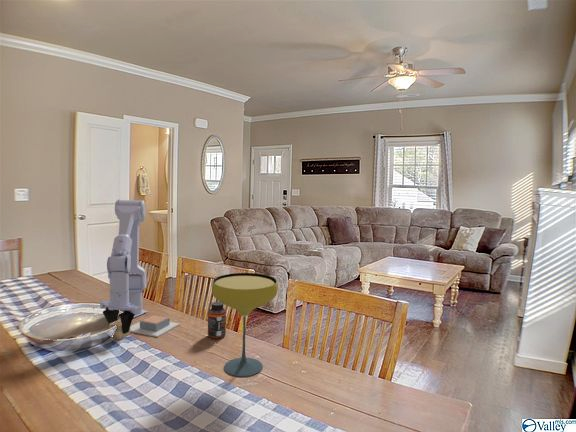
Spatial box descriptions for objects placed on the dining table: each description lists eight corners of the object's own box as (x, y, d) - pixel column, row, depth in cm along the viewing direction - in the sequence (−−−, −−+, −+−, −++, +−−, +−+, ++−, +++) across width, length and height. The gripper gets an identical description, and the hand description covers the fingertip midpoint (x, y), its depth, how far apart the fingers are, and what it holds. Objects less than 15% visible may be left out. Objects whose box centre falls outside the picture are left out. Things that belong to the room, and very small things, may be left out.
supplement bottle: (223, 339, 126) (224, 306, 125) (205, 339, 126) (206, 305, 125) (227, 332, 132) (227, 300, 131) (210, 332, 132) (210, 300, 131)
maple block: (109, 337, 125) (109, 324, 125) (119, 332, 129) (119, 319, 129) (120, 339, 124) (119, 326, 123) (130, 334, 128) (130, 321, 127)
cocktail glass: (284, 359, 113) (287, 276, 111) (259, 390, 96) (261, 293, 94) (230, 348, 119) (231, 270, 117) (197, 375, 102) (198, 284, 100)
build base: (124, 330, 131) (123, 321, 131) (148, 319, 142) (147, 310, 142) (157, 337, 126) (157, 327, 126) (179, 324, 137) (179, 316, 137)
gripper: (92, 291, 124) (93, 332, 125) (128, 297, 119) (128, 339, 120) (109, 286, 130) (109, 324, 132) (143, 291, 125) (143, 331, 127)
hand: (119, 331), depth 126 cm, fingers closed on maple block, 4 cm apart
